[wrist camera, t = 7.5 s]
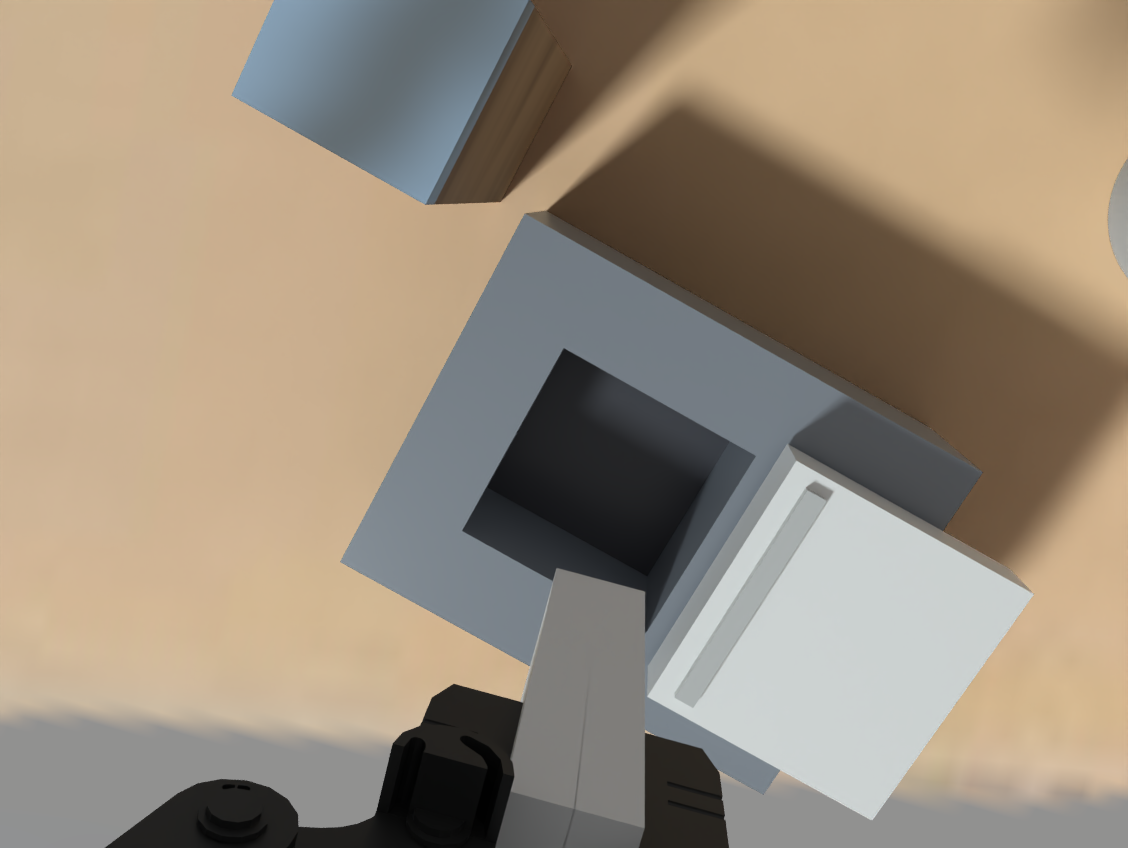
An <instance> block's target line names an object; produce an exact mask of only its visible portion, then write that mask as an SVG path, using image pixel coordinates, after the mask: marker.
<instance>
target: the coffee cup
mask: <svg viewBox="0 0 1128 848" xmlns="http://www.w3.org/2000/svg"><path fill="white" fill-rule="evenodd" d="M1108 229H1109V237H1110V242H1111V246H1112V249H1113V252H1114V255H1115V257H1116V259H1117V262H1118V264H1119V266H1120V267H1121V269H1122V271H1123V272H1124V274H1125V275H1126V276H1127V278H1128V159H1127V160H1126V162H1125V163H1124V165H1123V167H1122V169H1121V170H1120V172H1119V175H1118V177H1117V179H1116V182H1115V184H1114V187H1113V190H1112V194H1111V198H1110V203H1109V211H1108Z"/></svg>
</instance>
